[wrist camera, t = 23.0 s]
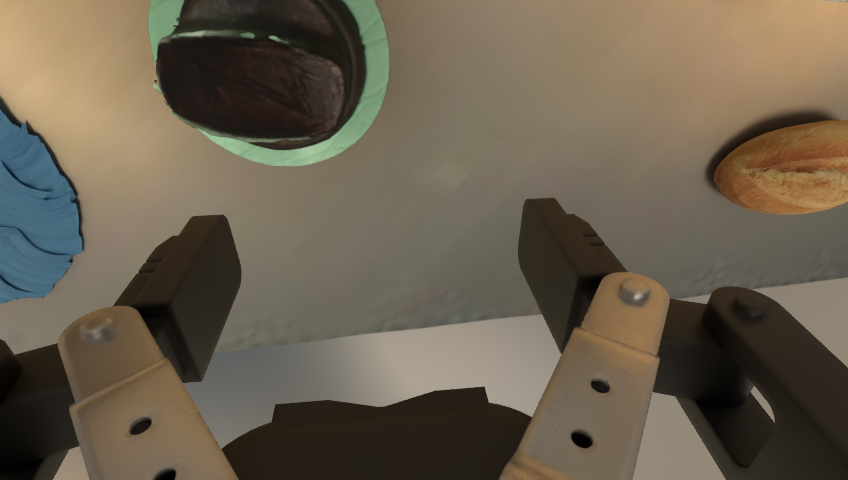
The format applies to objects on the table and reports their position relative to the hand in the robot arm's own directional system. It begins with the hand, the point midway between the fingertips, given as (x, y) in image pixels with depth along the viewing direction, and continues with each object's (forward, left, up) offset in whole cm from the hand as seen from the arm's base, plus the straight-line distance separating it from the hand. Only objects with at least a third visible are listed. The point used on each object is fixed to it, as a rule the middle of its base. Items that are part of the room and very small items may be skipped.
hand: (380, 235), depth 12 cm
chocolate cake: (-8, -4, -32) cm, 33 cm away
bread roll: (+44, +3, -32) cm, 55 cm away
